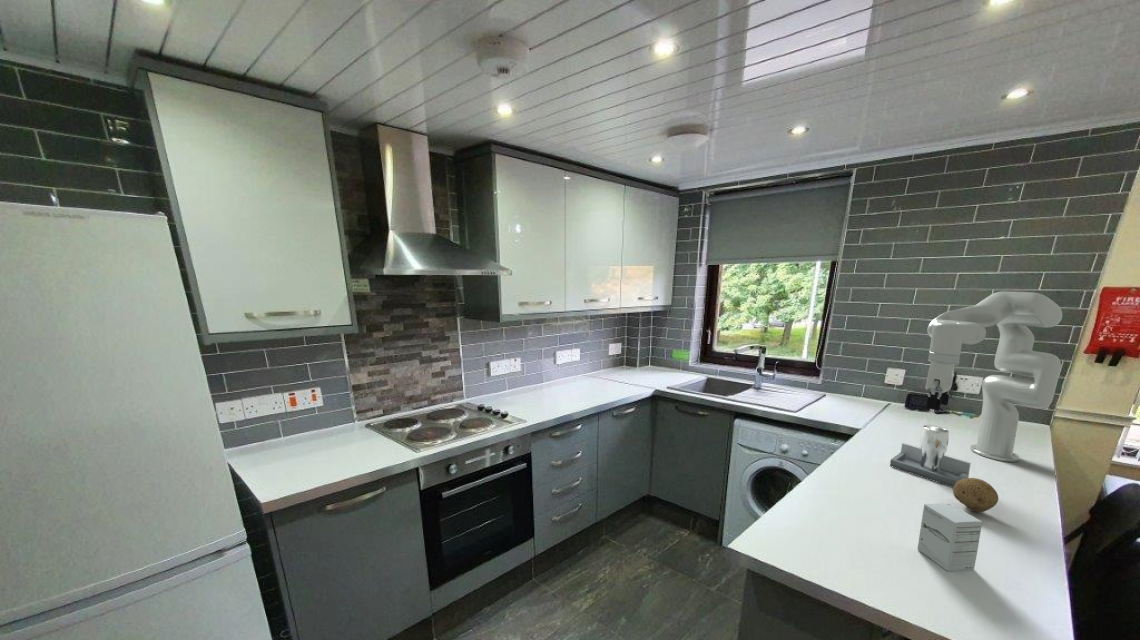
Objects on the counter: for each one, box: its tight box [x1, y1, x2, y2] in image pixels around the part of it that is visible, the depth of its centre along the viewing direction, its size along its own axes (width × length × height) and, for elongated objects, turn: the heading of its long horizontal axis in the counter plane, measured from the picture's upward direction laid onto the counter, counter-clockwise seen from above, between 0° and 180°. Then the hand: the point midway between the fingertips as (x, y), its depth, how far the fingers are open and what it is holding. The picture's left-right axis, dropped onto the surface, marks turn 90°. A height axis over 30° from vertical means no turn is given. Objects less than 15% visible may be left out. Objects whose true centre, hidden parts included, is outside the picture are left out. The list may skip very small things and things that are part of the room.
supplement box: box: [917, 502, 983, 572], centre depth 91 cm, size 7×7×13 cm
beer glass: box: [919, 424, 950, 473], centre depth 133 cm, size 7×7×15 cm
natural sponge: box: [952, 477, 999, 513], centre depth 111 cm, size 9×9×10 cm
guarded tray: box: [889, 442, 971, 488], centre depth 133 cm, size 12×18×6 cm, turn 34°
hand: (937, 406), depth 131 cm, fingers open, 9 cm apart
